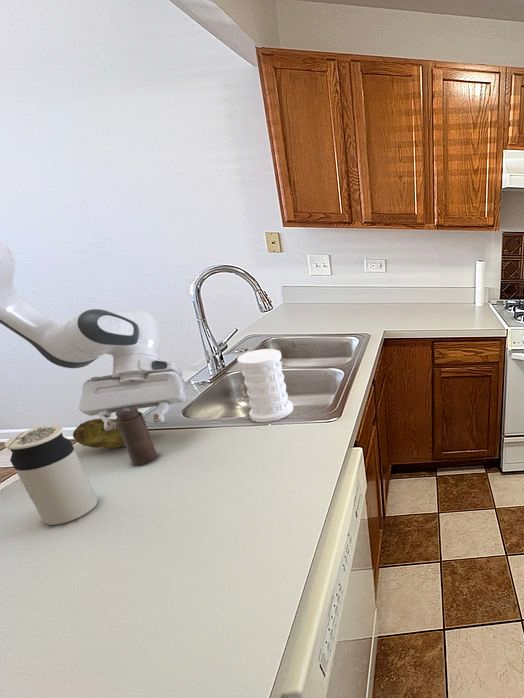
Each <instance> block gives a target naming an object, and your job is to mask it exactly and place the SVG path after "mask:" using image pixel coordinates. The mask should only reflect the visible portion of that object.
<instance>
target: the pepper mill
mask: <svg viewBox="0 0 524 698" xmlns="http://www.w3.org/2000/svg"><path fill="white" fill-rule="evenodd" d="M115 416H116V418H114V419H115V421H116V424H117V426H118V429H119V431H120V434H121V436H122V439H123V441H124V444H125V446H124V447H125V448H126V451H127V453H128V456H129V458H130V461H131V464H132V465H133V466H135V467H140V466H145V465H149V464H151V463H152V462H154V461H155V460H156V459H157V458H158V456H159V455H158V453H157V450H156V447H155V444H154V442H153V439H152V437H151V434H150V431H149V429H148V425H147V423H146V420H145V417H144V415H143V413H142V412H141V411H139V409H137V407H127V408H123V409H121V410H119V411H117V412H115Z"/></svg>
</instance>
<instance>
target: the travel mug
mask: <svg viewBox="0 0 524 698" xmlns="http://www.w3.org/2000/svg"><path fill="white" fill-rule="evenodd" d="M63 430H64V428H63V427H62V426H60V425H54V424H53V425H52V424H51V425H44V426H39V427H34V428H31V429H28V430H25V431H22V432H19V433H18V434H17V433H16V435H13V436H12V437H10V438H8V439H7V440H6V441H5V442H4V447H5V448H6V449H8V450H9V451H10V452H11V456H10V460H9V461H10V463H11V465H12V467H13V468H14V471H15V472H16V474H17V476H18V478H19V479H20V481H21V483H22V485H23V487H24V488H25V490H26V492H27V494H28V496H29V498H30V500H31V501H32V503H33V505H34V507H35V508H36V509H35V510H37V512H38V515H39V516H40V518H41V520H42V521H43V523H44V524H45V525H48V526H52V525H56V526H57V525H62V524H65V523H68V522H71V521H74V520H77V519H78V518H81V517H83V516H84V515H86V514H87V513H89V512H90V511H92V510H93V509H94V508H95V507H96V505H97V504H98V501H99V500H98V496H97V495H96V493H95V490H94V489H93V486H92V485H91V482H90V480H89V477H88V475H87V473H86V472H85V469H84V467H83V465H82V463H81V461H80V459H79V456H78V454H77V451H76V450H75V447H74V446H73V443H72V440H70V439H68V438H67V437H65V436H64V435H63Z"/></svg>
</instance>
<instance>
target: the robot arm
mask: <svg viewBox="0 0 524 698" xmlns="http://www.w3.org/2000/svg"><path fill="white" fill-rule="evenodd" d="M15 271H16V260H15V256H14V253H13V252H12V250H11V249H10V247H8V246H7V245H6V244H5V243H4V242H3V241H2V240H0V324H1V325H3V327H6V328H7V329H9V330H10V331H11V332H13V333H15V334H16V335H18V336H19V337H20V338H22V339H24V340H25V341H26V342H27V343H29V344H30V345H32V346H33V347H34V348H35V349H36V350H37V351H38V352H39V353H40V354H41V356H42V357H44V358H45V359H46V360H47V361H49V362H50V363H52V364H54V365H56V366H58V367H62V368H65V369H81V368H84V367H88V366H89V365H90V364H92V363H93V362H94V361H96V360H97V359H99V358H100V357H101V356H103V355H110V356H112V374H109V375H102V376H93V377H90V378H89V379H87V380H86V381H84V382H83V383H82V389H81V396H80V399H79V403H78V410H79V411H80V412H81V413H83V414H85V415H86V416H90V417H92V416H93V417H94V416H98V417H99V419H102V421H103V422H104V429H105V430H107V431H109V430H115V429H116V427H115V426H116V422H114V421H110V420H109V419H110V418H111V417H112V413H116V412H117V411H119V410H121V409H123V408H127V407H137V409H138V410H139V409H146V408H147V409H148V408H154V407H160V409H159V410H158V412H157V413H154V414H153V422H154V423H155V424H159V423H164V422H165V415H166V414H167V413H168V411H169V410H170V408H171V405H174V404H179V403H184V402H185V401H186V400H187V399H188V388H187V383H186V381H185V379H184V378H183V371H182V369H181V368H180V367H179V366H178V365H177V364H175V363H174V362H172V361H169V360H160V357H159V350H160V348H161V330H160V325H159V323H158V320H157V319H156V317H155V316H153V314H150V313H149V312H147V311H144V310H140V309H125V310H122V311H110V310H109V311H108V310H105V309H101V308H100V309H99V308H93V309H88V310H85V311H83V312H81V313H80V314H79V313H78V314H77V315H76V316H74V317H73V318H71V319H70V320H68V321H67V322H65V323H63V324H61V323H57V322H55V321H53V320H51V318H49V317H47V315H45V314H44V313H42V312H41V311H39V310H37V308H35V307H33V306H32V305H30V303H28V302H26V301H25V300H24V299H23V298H21V297H20V296H19V295H18V292H16V288H15V286H14V275H15Z"/></svg>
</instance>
